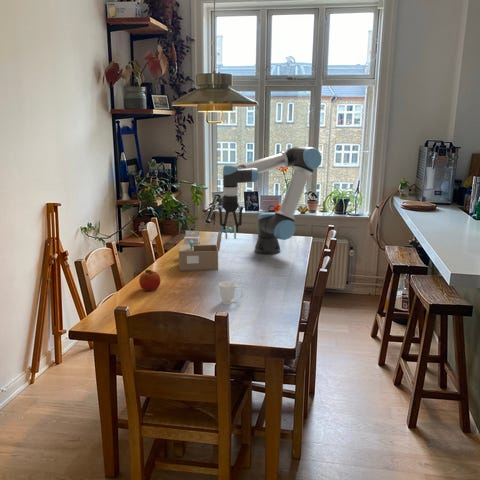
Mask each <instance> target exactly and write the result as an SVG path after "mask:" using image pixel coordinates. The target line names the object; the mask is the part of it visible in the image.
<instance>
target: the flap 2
mask: <svg viewBox="0 0 480 480" xmlns="http://www.w3.org/2000/svg"><path fill="white" fill-rule="evenodd" d="M223 231H225V232H227V233H230V234H234V229H233V228H232V227H231V226H229V227H227V230H223V226H219V231H217V240H216V244H215V245H216V246H217V249H218V252H220V248H221V243H222V233H223Z"/></svg>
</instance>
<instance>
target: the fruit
mask: <svg viewBox="0 0 480 480" xmlns="http://www.w3.org/2000/svg"><path fill="white" fill-rule="evenodd" d="M138 281H139V286H140V288H141V289H142V290H144V291H147V292H154V291H155V290H157V289H158V288H160V285H161V277H160V275H159V273H158V272H157V271H154V270H152V269H146V270H144V272H143V273H142V274H141V275H140V277H139V280H138Z"/></svg>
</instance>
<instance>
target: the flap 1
mask: <svg viewBox="0 0 480 480" xmlns="http://www.w3.org/2000/svg"><path fill="white" fill-rule="evenodd" d="M179 252H194V247H193V240H190V244H186V245H184V244H179V245H178V253H179Z"/></svg>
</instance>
